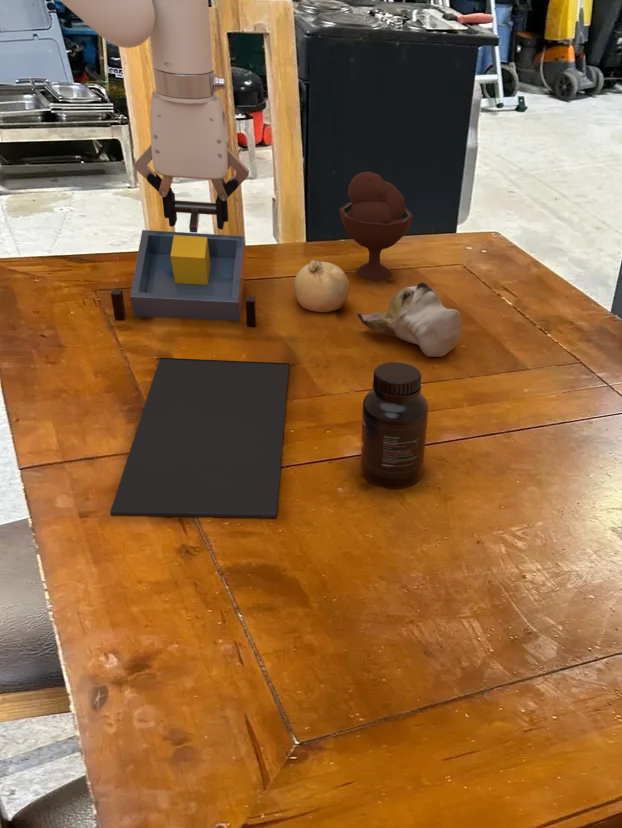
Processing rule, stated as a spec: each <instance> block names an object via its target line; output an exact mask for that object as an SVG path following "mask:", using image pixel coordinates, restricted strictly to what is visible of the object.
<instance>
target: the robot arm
mask: <svg viewBox="0 0 622 828" xmlns="http://www.w3.org/2000/svg"><path fill="white" fill-rule="evenodd" d="M59 1H60V2H61V4H63V5H64V6H65V7H67V8H68V10H70V11H71V12H72V13H73V14H74V15H76V16H77V17H78V18H79V19H80V20H81V21H83V22H84V23H85V24H86V25H87V26H89V28H91V29H92V30H93V31H94V32H96V34H98V35H99V36H100V37H101V38H103V39H104V40H105V41H106V42H108V43H110V44H111V45H113V46H116V47H119V48H125V49H130V48H131V49H132V48H136V47H138V46H141V45H142V44H144V43H145V42H146V41H147V40H148V39H149V40H150V49H151V50H150V51H151V59H152V68H153V75H154V85H155V90H153V91H152V92H151V95H150V108H149V109H150V111H149V112H150V113H149V114H150V115H149V117H150V119H149V120H150V122H149V124H150V126H149V127H150V145H149V146H148V147H147V148H146V149H145V151H144V152H143V153H142V154H141V155H140V156H139V157H138V158H137V159H136V161H135V163H134V164H133V167H134V169H135V170H136V171H137V172H138V174H140V175H141V176H142V177H143V178H144V179H145V180H146V181H147V182H148V184H149V185H151V186H152V187H153V188H154V189H155V190H156V191H157V192H158V195H159V196H160V197H161V199H162V208H163V217H164V219H168V225H169V227H172V228H173V227H175V226H176V223H177V221H178V213H177V212H175V211H174V200H176V197H175V196H176V195H175V192H174V190H173V188H172V187H171V186H172V183H173V180H174V178H178V179H179V178H180V179H192V180H193V179H194V180H208V181H209V180H210V181H211V183H212V185H213V188H214V190H215V191H216V198H215V203H216V214H217V215H216V226H217V229H218V230H224V228H225V227H224V226H225V223H228V222H229V206H228V198H229V197H230V196H231V195H232V194H233V193H234V192H235V191H236V190H237V189H238V188H239V186H240V185H242V183H244V181H245V180H247V178H248V177H249V176H250V169H249V168H248V166H246V165H245V164H244V162H242V161H241V160H240V159H239V157H238V156H237V155H235V153H234V152H233V151H232V150H231V149H230V143H229V134H228V127H227V119H226V114H225V109H224V103H223V100H222V97H221V96H220V95H218V94H216V92H217V91H220V90H226V79H225V77H220V76H219V75H217V73H215V70H214V64H213V53H212V39H211V38H212V36H211V24H210V23H211V22H210V7H209V0H59ZM150 162H152V166H153V169H154V170H153V169H152V168H151V167H150V166H149V164H150ZM230 167H231V168H232V169H233V170H234V171H235V174H234V175H233V176H232V177H231V178H230V179H229V180H228V181H226V180H225V178H226V177H227V176H228V172H229V171H228V170H230ZM161 176H162V177H161Z"/></svg>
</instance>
